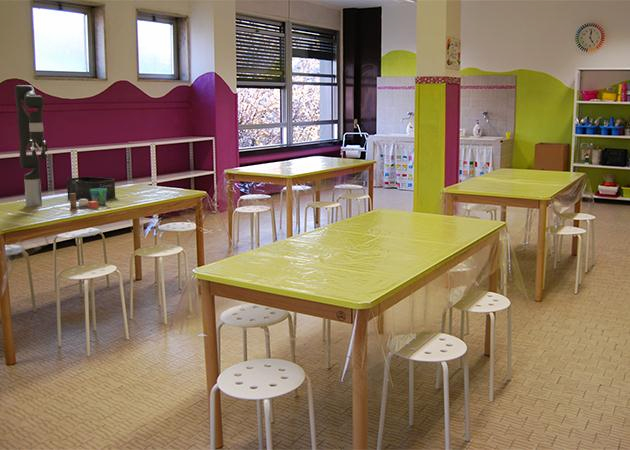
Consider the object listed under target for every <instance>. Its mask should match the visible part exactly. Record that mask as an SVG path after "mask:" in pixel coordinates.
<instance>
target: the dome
mask: <svg viewBox="0 0 630 450" xmlns="http://www.w3.org/2000/svg"><path fill="white" fill-rule="evenodd" d="M77 202H78V206H87V205H88V202H89V201H88V200H87V199H80V200H78V201H77Z"/></svg>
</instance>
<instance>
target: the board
mask: <svg viewBox="0 0 630 450" xmlns="http://www.w3.org/2000/svg"><path fill="white" fill-rule="evenodd" d="M76 206H77V208H78V210H74V211H75V212H77V213H79V214H80V213H82V212H84V213H85V212H86V213H87V212H88V210H87V211H85V210H82V209H91V210H90V211H91V212H92V211H93V210H95V211H97V210H99V205H98V202H97V201H88V205H87V206H79V205H76ZM70 208H71V207H59V208H58V209H59V210H66V211H71V210H70ZM74 211H73V212H74Z"/></svg>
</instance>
